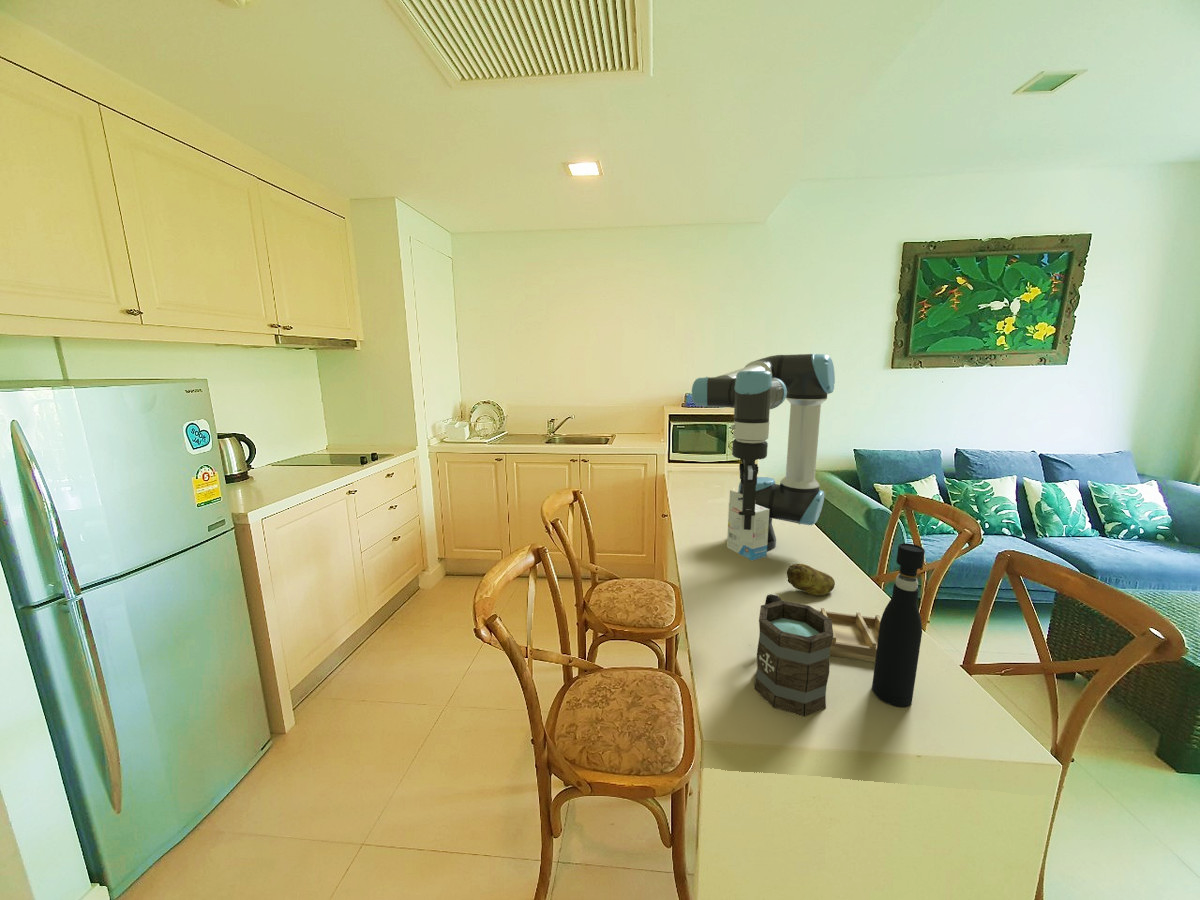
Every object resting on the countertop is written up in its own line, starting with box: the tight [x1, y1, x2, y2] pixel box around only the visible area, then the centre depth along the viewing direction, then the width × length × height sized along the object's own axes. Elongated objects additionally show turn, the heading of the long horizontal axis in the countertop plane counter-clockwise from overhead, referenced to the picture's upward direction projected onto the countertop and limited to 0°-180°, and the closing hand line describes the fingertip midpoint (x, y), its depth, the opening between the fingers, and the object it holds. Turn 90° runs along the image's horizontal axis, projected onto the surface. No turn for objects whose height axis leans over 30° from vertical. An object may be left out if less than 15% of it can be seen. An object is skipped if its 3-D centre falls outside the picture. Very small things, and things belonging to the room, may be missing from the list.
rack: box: [816, 607, 882, 663], centre depth 99 cm, size 13×20×4 cm, turn 74°
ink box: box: [726, 490, 770, 561], centre depth 102 cm, size 8×5×15 cm, turn 26°
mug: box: [754, 593, 833, 718], centre depth 86 cm, size 20×14×15 cm
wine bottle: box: [871, 542, 926, 708], centre depth 80 cm, size 6×6×30 cm
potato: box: [786, 563, 836, 596], centre depth 119 cm, size 8×13×8 cm, turn 76°
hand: (745, 533), depth 103 cm, fingers closed on ink box, 9 cm apart
